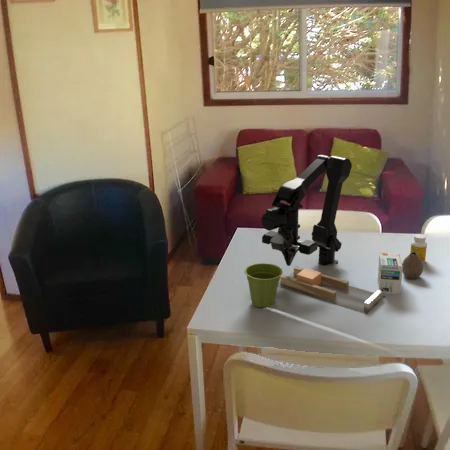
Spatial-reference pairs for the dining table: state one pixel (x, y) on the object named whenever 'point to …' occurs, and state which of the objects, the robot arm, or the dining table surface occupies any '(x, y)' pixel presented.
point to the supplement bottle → (419, 246)
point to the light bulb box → (390, 273)
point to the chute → (329, 291)
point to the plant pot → (263, 283)
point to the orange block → (309, 276)
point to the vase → (412, 266)
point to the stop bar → (372, 300)
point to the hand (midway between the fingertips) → (288, 265)
